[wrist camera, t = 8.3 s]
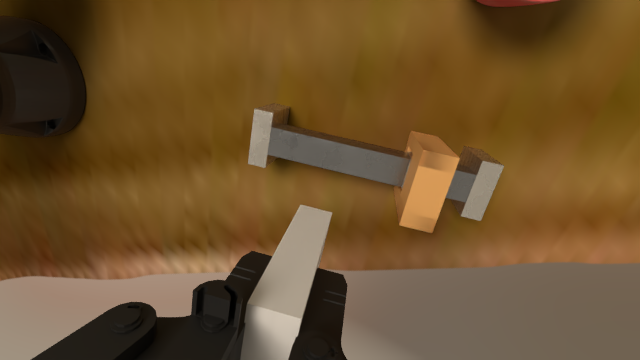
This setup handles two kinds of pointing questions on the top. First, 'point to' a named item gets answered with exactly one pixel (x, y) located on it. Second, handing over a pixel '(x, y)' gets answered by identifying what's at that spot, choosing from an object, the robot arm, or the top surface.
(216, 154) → the top surface
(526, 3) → the flower pot
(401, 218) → the collar
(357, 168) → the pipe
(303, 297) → the robot arm
